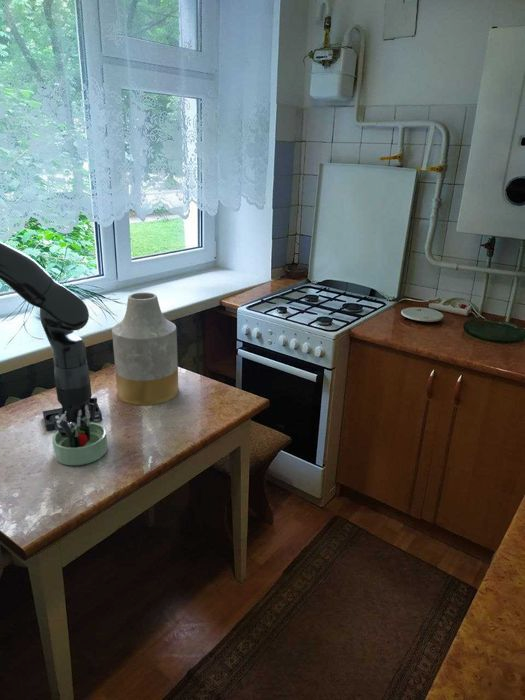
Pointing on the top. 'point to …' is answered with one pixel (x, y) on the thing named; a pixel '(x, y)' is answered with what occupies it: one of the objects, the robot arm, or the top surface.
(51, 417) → the vhs tape
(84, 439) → the strawberry
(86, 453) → the bowl
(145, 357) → the vase
